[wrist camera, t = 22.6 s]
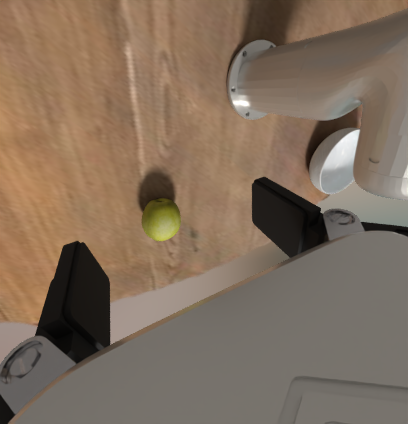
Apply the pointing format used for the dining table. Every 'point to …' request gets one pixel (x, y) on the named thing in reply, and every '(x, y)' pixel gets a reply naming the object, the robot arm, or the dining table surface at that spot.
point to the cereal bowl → (334, 161)
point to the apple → (161, 219)
